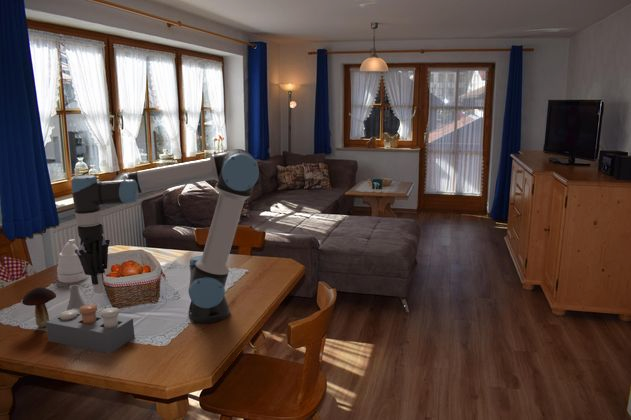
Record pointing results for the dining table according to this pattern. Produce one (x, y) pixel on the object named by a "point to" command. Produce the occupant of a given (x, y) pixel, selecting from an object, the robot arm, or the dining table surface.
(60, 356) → the dining table surface
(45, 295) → the decorative mushroom
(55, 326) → the grey rectangular block
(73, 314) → the far knob
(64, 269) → the honey pot
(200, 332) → the dining table surface
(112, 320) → the near knob
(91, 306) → the middle knob
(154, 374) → the dining table surface
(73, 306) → the flask
